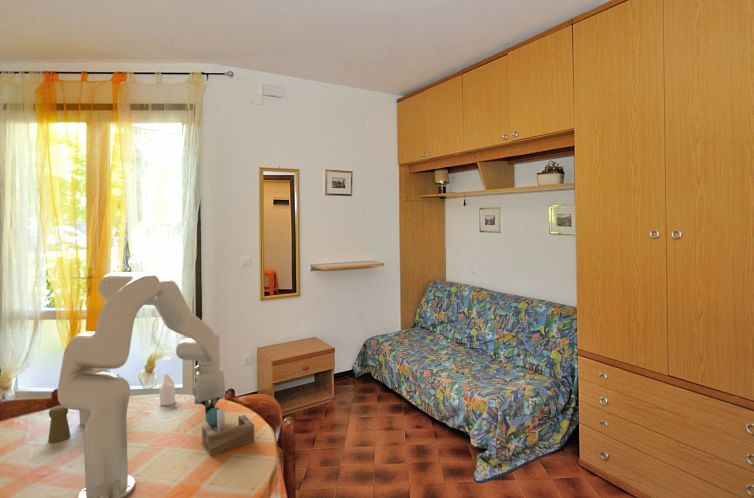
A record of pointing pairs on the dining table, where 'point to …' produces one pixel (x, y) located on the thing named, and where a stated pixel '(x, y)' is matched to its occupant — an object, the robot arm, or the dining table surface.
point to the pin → (220, 420)
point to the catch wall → (228, 436)
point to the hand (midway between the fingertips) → (210, 415)
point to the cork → (58, 424)
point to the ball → (212, 416)
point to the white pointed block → (167, 391)
